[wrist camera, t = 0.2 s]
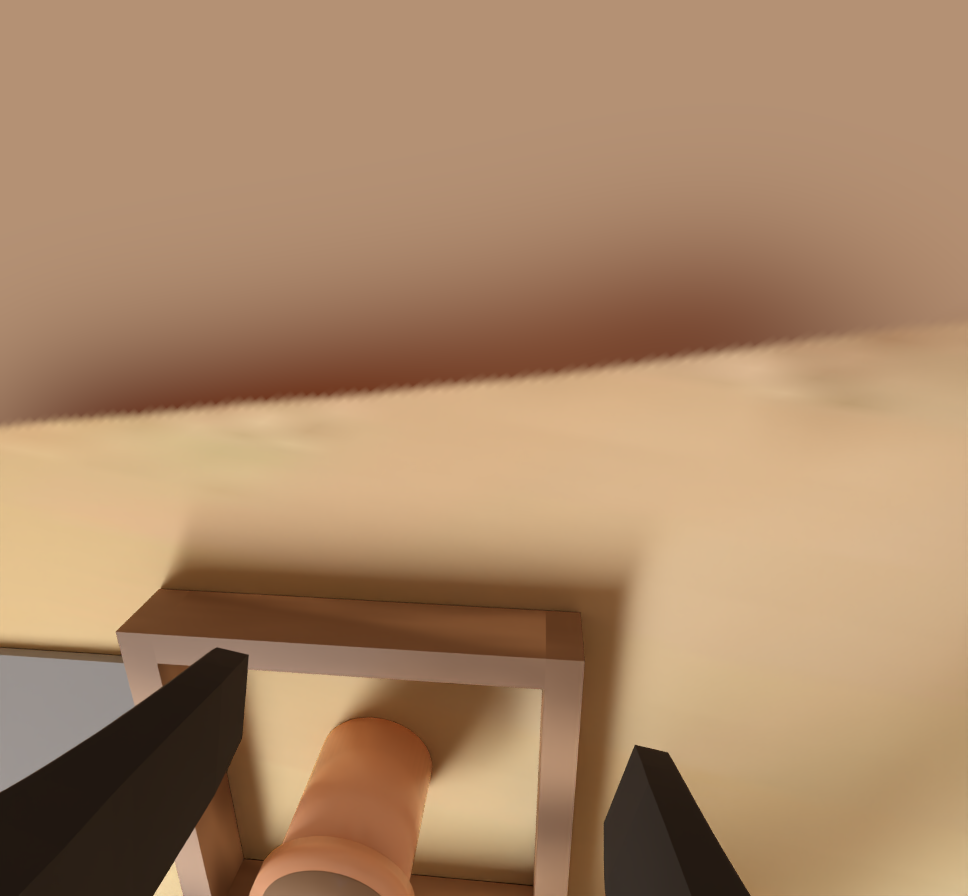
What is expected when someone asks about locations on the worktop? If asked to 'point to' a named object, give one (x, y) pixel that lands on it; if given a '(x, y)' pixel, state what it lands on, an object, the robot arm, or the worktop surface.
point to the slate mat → (54, 705)
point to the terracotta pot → (354, 817)
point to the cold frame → (373, 654)
